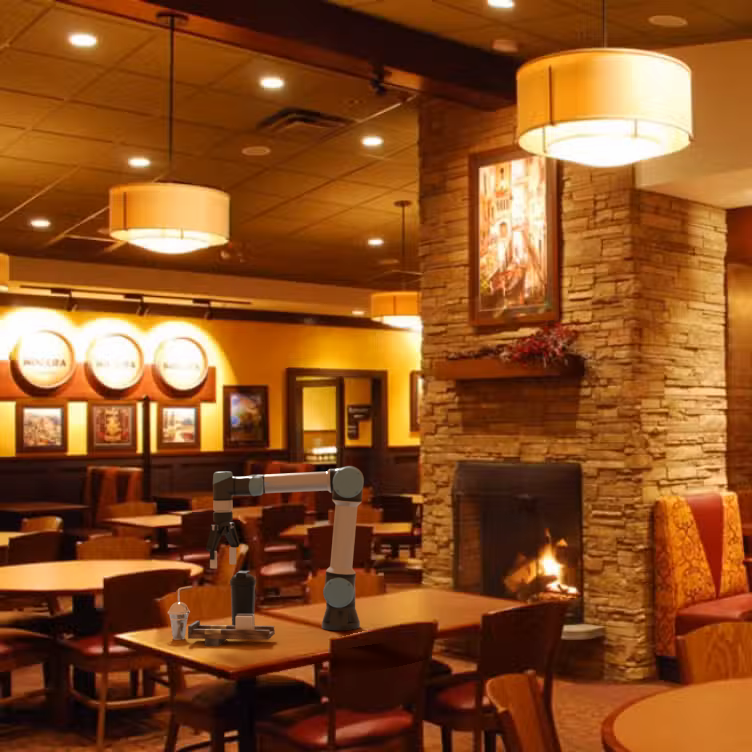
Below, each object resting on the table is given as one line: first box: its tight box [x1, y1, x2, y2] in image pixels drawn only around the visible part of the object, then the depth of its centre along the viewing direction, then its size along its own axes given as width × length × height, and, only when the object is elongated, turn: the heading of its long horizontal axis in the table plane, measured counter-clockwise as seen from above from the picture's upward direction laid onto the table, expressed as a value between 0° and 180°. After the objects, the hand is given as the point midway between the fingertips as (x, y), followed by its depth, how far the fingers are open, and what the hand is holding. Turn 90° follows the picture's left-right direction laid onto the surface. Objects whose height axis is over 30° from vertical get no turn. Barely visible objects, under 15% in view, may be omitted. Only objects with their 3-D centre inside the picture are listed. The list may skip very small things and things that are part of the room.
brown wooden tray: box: [187, 620, 276, 647], centre depth 415 cm, size 30×13×7 cm, turn 84°
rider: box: [235, 614, 256, 630], centre depth 415 cm, size 6×6×7 cm
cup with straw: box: [167, 585, 193, 641], centre depth 425 cm, size 8×9×20 cm
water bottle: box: [229, 570, 257, 625], centre depth 443 cm, size 10×10×23 cm
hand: (223, 566), depth 434 cm, fingers open, 13 cm apart
